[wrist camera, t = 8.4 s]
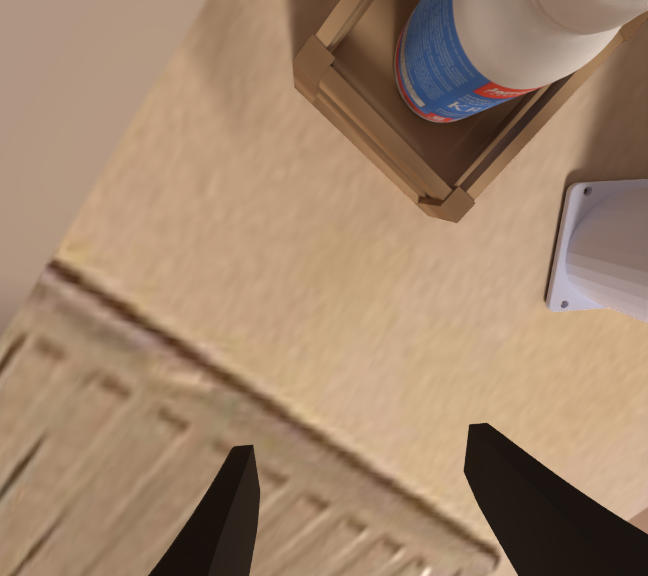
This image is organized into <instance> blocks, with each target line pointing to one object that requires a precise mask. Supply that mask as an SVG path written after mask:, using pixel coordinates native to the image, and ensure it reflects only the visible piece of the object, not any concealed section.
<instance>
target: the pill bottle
mask: <svg viewBox="0 0 648 576" xmlns="http://www.w3.org/2000/svg"><path fill="white" fill-rule="evenodd" d="M646 11H648V0H420V2H419V3H418V5H417V6H416V8H415V9H414V10H413V12H412V13H411V15H410V16H409V18H408V20H407V22H406V24H405V26H404V27H403V29H402V32H401V34H400V36H399V39H398V43H397V46H396V51H395V58H394V71H395V79H396V84H397V87H398V90H399V93H400V95H401V97H402V99H403V100H404V102H405V103H406V105H407V106H408V107H409V108H410V109H411V110H412V111H413V112H414V113H415V114H417V115H418V116H420V117H422V118H424V119H426V120H429V121H432V122H441V123H444V122H453V121H457V120H460V119H463V118H466V117H468V116H471V115H473V114H476V113H478V112H481V111H483V110H485V109H488V108H490V107H493V106H496V105H498V104H500V103H503V102H505V101H508V100H510V99H513V98H515V97H518V96H520V95H523V94H526V93H528V92H531V91H534V90H536V89H538V88H541V87H544V86H546V85H549V84H551V83H553V82H555V81H557V80H559V79H561V78H564V77H566V76H568V75H570V74H571V73H573V72H575V71H577V70H578V69H580V68H581V67H583V66H584V65H585V64H587V63H588V62H589V61H591V60H592V59H593V58H594V57H595V56H597V55H598V54H599V53H600V52H601V51H602V50H603V49H604V48H605V47H606V46H607V45H608V43H609V42H610V41H611V40H612V39H613V38H614V36H615V35H616V34H617V32H618V31H619V30H620V28H621V27H622V25H624V24H626V23H628V22H629V21H631V20H632V19H634V18H635V17H637V16H639V15H640V14H642V13H644V12H646Z"/></svg>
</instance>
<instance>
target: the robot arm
mask: <svg viewBox="0 0 648 576" xmlns="http://www.w3.org/2000/svg"><path fill="white" fill-rule="evenodd" d="M585 188H586V189H587V191H586V193H585V194H584V189H585ZM563 301H564V302H563ZM562 302H563V304H562V305H561V303H562ZM546 308H547V309H549V310H550V311H552V312H560V311H574V310H587V309H600V308H610V309H612V310H615V311H617V312H620V313H622V314H625V315H627V316H630V317H632V318H635V319H637V320H640V321H642V322H645V323H647V324H648V179H633V180H615V181H597V182H579V183H573V184H572V185H570V186H569V188H568V189H567V192H566V198H565V203H564V208H563V214H562V219H561V225H560V230H559V235H558V241H557V246H556V251H555V257H554V262H553V267H552V273H551V278H550V284H549V289H548V294H547V300H546ZM464 473H465V476H466V478H467V480H468V483H469V485H470V487H471V490H472V492H473V494H474V496H475V499H476V501H477V503H478V505H479V507H480V509H481V511H482V513H483V514H484V516H485V518H486V520H487V522H488V523H489V525H490V527H491V529H492V530H493V532H494V534H495V536H496V537H497V539H498V541H499V543H500V545H501V546H502V548H503V550H504V552H505V553H506V555H507V557H508V559H509V560H510V562H511V564H512V566H513V567H514V569H515V571H516V573H517V574H518V576H648V534H646V533H645V532H643V531H642V530H640V529H638V528H637V527H635V526H633V525H632V524H630V523H628V522H627V521H625V520H623V519H622V518H620V517H619V516H617V515H615V514H614V513H612V512H611V511H609V510H608V509H606V508H605V507H603V506H601V505H600V504H598V503H597V502H596V501H594V500H593V499H591V498H590V497H588V496H587V495H585V494H584V493H582V492H581V491H579V490H578V489H576V488H575V487H573V486H572V485H570V484H569V483H568V482H566V481H565V480H563V479H562V478H561V477H559V476H558V475H556V474H555V473H554V472H552V471H551V470H549V469H548V468H547V467H545V466H544V465H543V464H541V463H540V462H539V461H537V460H536V459H535V458H533V457H532V456H531V455H529V454H528V453H527V452H525V451H524V450H523V449H521V448H520V447H519V446H517V445H516V444H515V443H513V442H512V441H511V440H509V439H508V438H507V437H505V436H504V435H503V434H501V433H500V432H499V431H497V430H496V429H495V428H493V427H492V426H491V425H489V424H488V423H480V424H470V425H469V431H468V440H467V448H466V456H465V465H464ZM259 502H260V487H259V480H258V474H257V467H256V461H255V454H254V448H253V445H244V446H234V447H233V448H232V449H231V451H230V453H229V454H228V456H227V458H226V460H225V462H224V463H223V465H222V467H221V469H220V471H219V472H218V474H217V476H216V477H215V479H214V481H213V482H212V484H211V486H210V487H209V489H208V491H207V492H206V494H205V495H204V497H203V498H202V500H201V502H200V503H199V505H198V506H197V508H196V509H195V511H194V513H193V514H192V516H191V517H190V519H189V520H188V522H187V523H186V524H185V526H184V527H183V529H182V530H181V532H180V533H179V534H178V536H177V537H176V539H175V540H174V542H173V543H172V545H171V546H170V547H169V549H168V550H167V551H166V553H165V554H164V556H163V557H162V558H161V560H160V561H159V562H158V564H157V565H156V566H155V568H154V569H153V570H152V571H151V573H150V574H149V575H148V576H249V573H250V567H251V562H252V556H253V550H254V545H255V539H256V533H257V526H258V515H259Z"/></svg>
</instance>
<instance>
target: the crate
mask: <svg viewBox="0 0 648 576" xmlns="http://www.w3.org/2000/svg"><path fill="white" fill-rule="evenodd" d="M419 2H420V0H340V1H339V2H338V4H337V5H336V7H335V8H334V9H333V11H332V12H331V14H330V15H329V17H328V18H327V19H326V21H325V22H324V24H323V25H322V26H321V28H320V29H319V31H318V32H317V33H316V35H315V36H314V35H313V34H312V35H311V36H310V38H309V39H308V40H307V42H306V43H305V45H304V46H303V47H302V49H301V50H300V52H299V53H298V55H297V56H296V57H295V59H294V60H293V69H294V84H295V88H296V89H297V90H298V91H299V92H300V93H301V94H302V95H303V96H304V97H305V98H306V99H307V100H308V101H309V102H310V103H311V104H313V105H314V106H315V107H316V108H317V109H318V110H319V111H320V112H321V113H322V114H323V115H324V116H325V117H326V118H327V119H328V120H329V121H330V122H331V123H332V124H333V125H334V126H335V127H336V128H337V129H339V130H340V131H341V132H342V133H343V134H344V135H345V136H346V137H347V138H348V139H349V140H350V141H351V142H352V143H353V144H354V145H355V146H356V147H357V148H358V149H359V150H360V151H361V152H362V153H363V154H364V155H366V156H367V157H368V158H369V159H370V160H371V161H372V162H373V163H374V164H375V165H376V166H377V167H378V168H379V169H380V170H381V171H382V172H383V173H384V174H385V175H386V176H387V177H388V178H389V179H390V180H391V181H393V182H394V183H395V184H396V185H397V186H398V187H399V188H400V189H401V190H402V191H403V192H404V193H405V194H406V195H407V196H408V197H409V198H410V199H411V200H412V201H413V202H414V203H415V204H416V205H417V206H419V207H420V208H421V209H422V210H423V211H424V212H425V213H426V214H427V215H428V216H431V217H435V218H439V219H443V220H447V221H451V222H455V223H458V222H459V221H460V219H461V218H462V217H463V216H464V215H465V214H466V213H467V212H468V211H469V210H470V209H471V208H472V207H473V205H474V204H475V202H474V200H475V199H476V198H477V197H478V196H479V195H480V194H481V193H482V192H483V191H484V189H485V188H486V187H487V186H488V185H489V184H490V183H491V182H492V181H493V180H494V179H495V178H496V177H497V175H498V174H499V173H500V172H501V171H502V170H503V169H504V168H505V167H506V166H507V165H508V164H509V163H510V161H511V160H512V159H513V158H514V157H515V156H516V155H517V154H518V153H519V152H520V151H521V150H522V148H523V147H524V146H525V145H526V144H527V143H528V142H529V141H530V140H531V139H532V138H533V137H534V136H535V134H536V133H537V132H538V131H539V130H540V129H541V128H542V127H543V126H544V125H545V124H546V123H547V122H548V120H549V119H550V118H551V117H552V116H553V115H554V114H555V113H556V112H557V111H558V110H559V109H560V108H561V106H562V105H563V104H564V103H565V102H566V101H567V100H568V99H569V98H570V97H571V96H572V95H573V94H574V92H575V91H576V90H577V89H578V88H579V87H580V86H581V85H582V84H583V83H584V82H585V81H586V80H587V78H588V77H589V76H590V75H591V74H592V73H593V72H594V71H595V70H596V69H597V68H598V67H599V65H600V64H601V63H602V62H603V61H604V60H605V59H606V58H607V57H608V56H609V55H610V54H611V53H612V51H613V50H614V49H615V48H616V47H617V46H618V45H619V44H620V43H622V42H624V41H626V40H628V39H629V38H630V37H631V36H632V35H633V34H634V33H635V31H636V30H637V29H638V28H639V27H640V26H641V25H642V24H643V23H644V22H645V21H646V20H647V19H648V11H646V12H644V13H642V14H640V15H639V16H637V17H635V18H634V19H632V20H631V21H629V22H628V23H626V24H624V25H622V27H621V28H620V30H619V31H618V32H617V34H616V35H615V36H614V38H613V39H612V40H611V41H610V42H609V43H608V45H607V46H606V47H605V48H604V49H603V50H602V51H601V52H600V53H599V54H598V55H597V56H595V57H594V58H593V59H592V60H591V61H589V62H588V63H587V64H585V65H584V66H583V67H581V68H580V69H578V70H577V71H575V72H573V73H571V74H570V75H568V76H566V77H564V78H561V79H559V80H557V81H555V82H553V83H551V84H549V85H546V86H544V87H541V88H538V89H536V90H534V91H531V92H528V93H526V94H523V95H520V96H518V97H515V98H513V99H510V100H508V101H505V102H503V103H500V104H498V105H496V106H493V107H490V108H488V109H485V110H483V111H481V112H478V113H476V114H473V115H471V116H468V117H466V118H463V119H460V120H457V121H453V122H444V123H441V122H432V121H429V120H426V119H424V118H422V117H420V116H418V115H417V114H415V113H414V112H413V111H412V110H411V109H410V108H409V107H408V106H407V105H406V103H405V102H404V100H403V99H402V97H401V95H400V93H399V90H398V87H397V84H396V79H395V71H394V58H395V51H396V46H397V43H398V39H399V36H400V34H401V32H402V29H403V27H404V26H405V24H406V22H407V20H408V18H409V16H410V15H411V13H412V12H413V10H414V9H415V8H416V6H417V5H418V3H419Z"/></svg>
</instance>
